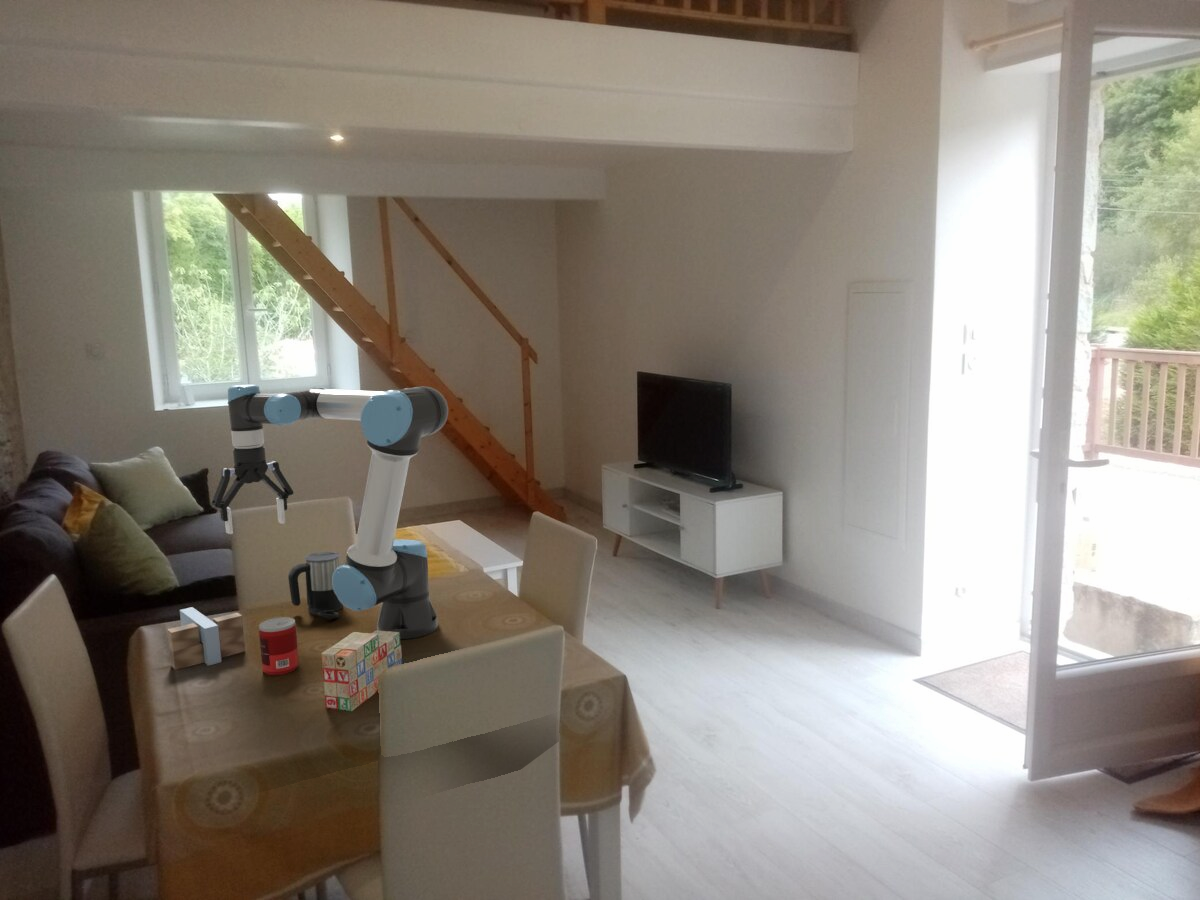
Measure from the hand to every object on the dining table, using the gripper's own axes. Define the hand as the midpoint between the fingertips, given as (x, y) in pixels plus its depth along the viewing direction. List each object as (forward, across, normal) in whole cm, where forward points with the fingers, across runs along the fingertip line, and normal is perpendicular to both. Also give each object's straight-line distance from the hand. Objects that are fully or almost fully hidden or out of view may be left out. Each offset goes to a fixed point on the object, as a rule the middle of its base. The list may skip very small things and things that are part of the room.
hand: (256, 528), depth 231 cm
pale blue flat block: (+26, +19, +8) cm, 33 cm away
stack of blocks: (+27, +1, +54) cm, 61 cm away
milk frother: (+26, -16, +3) cm, 31 cm away
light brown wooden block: (+26, +19, +12) cm, 34 cm away
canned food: (+26, +10, +30) cm, 42 cm away
